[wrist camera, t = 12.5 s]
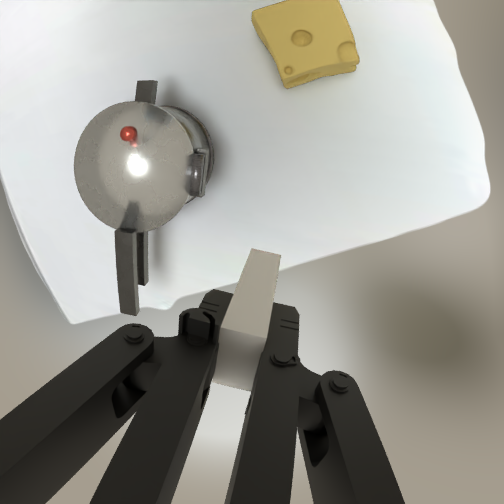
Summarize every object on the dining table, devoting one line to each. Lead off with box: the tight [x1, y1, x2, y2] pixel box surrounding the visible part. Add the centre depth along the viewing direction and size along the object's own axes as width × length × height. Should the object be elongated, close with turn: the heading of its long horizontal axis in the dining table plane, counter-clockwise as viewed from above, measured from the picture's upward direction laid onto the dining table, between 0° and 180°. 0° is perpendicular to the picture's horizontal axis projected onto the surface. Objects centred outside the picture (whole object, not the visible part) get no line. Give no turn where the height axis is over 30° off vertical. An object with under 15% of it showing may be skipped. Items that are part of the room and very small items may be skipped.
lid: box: [74, 101, 205, 316], centre depth 38 cm, size 30×18×2 cm, turn 172°
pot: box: [135, 80, 214, 286], centre depth 43 cm, size 29×18×9 cm, turn 172°
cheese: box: [252, 0, 359, 89], centre depth 32 cm, size 10×11×10 cm
